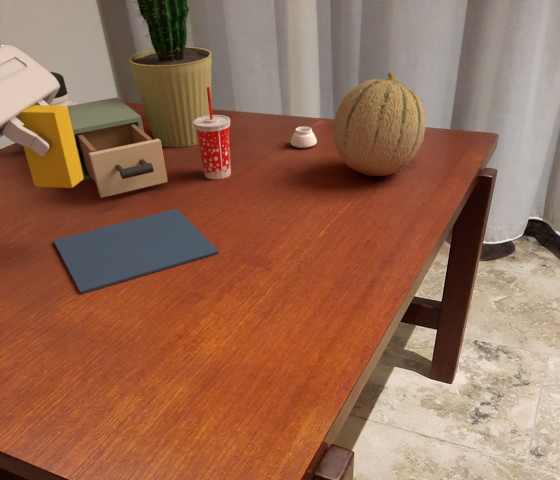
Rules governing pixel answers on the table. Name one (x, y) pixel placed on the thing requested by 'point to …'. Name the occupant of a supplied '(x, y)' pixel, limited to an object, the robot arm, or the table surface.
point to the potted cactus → (171, 74)
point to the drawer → (122, 159)
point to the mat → (132, 249)
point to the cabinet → (100, 119)
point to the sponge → (63, 154)
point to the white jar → (303, 137)
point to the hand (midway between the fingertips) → (57, 143)
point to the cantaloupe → (379, 127)
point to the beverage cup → (214, 143)
